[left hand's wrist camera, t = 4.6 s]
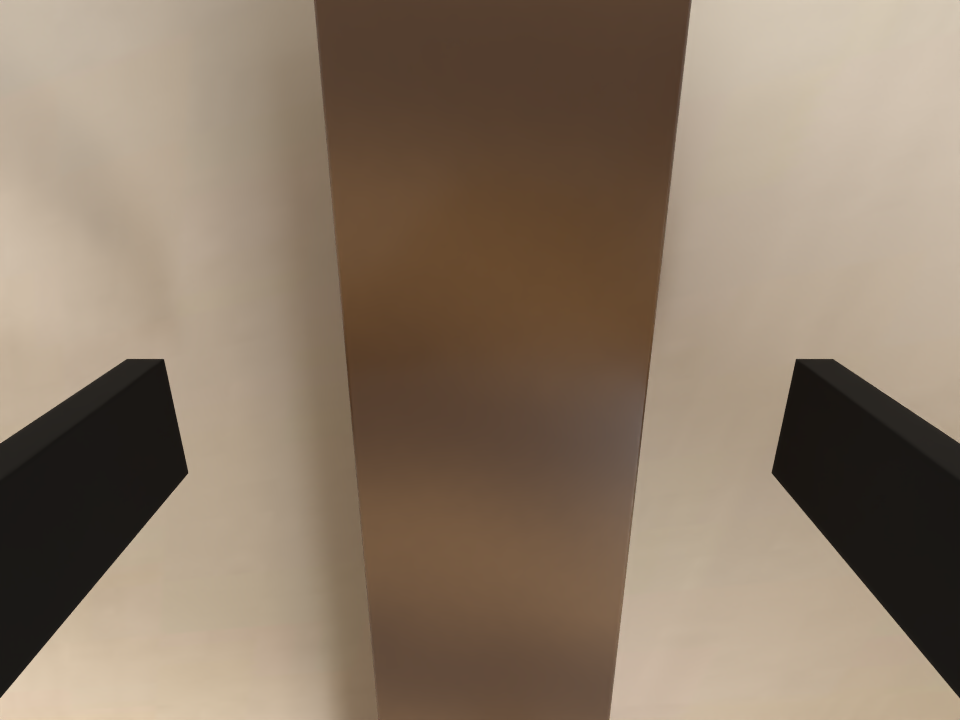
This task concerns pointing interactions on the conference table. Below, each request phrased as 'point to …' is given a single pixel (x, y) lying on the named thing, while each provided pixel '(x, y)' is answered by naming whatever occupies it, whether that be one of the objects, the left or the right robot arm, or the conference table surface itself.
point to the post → (498, 331)
